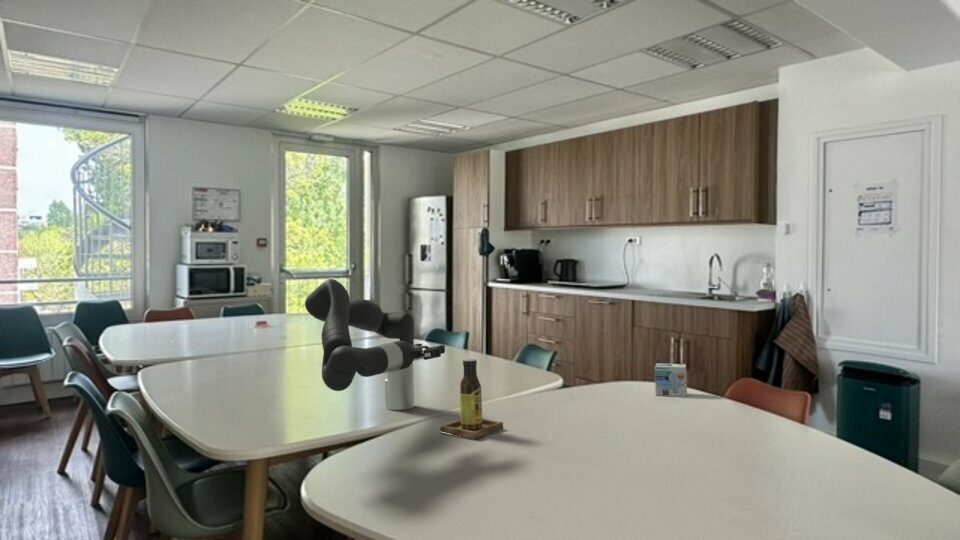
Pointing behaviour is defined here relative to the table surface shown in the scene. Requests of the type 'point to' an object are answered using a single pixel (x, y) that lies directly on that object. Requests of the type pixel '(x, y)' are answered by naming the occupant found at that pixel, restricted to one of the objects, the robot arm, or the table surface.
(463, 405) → the sauce bottle
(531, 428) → the table surface
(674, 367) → the light bulb box
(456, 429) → the walnut tray
